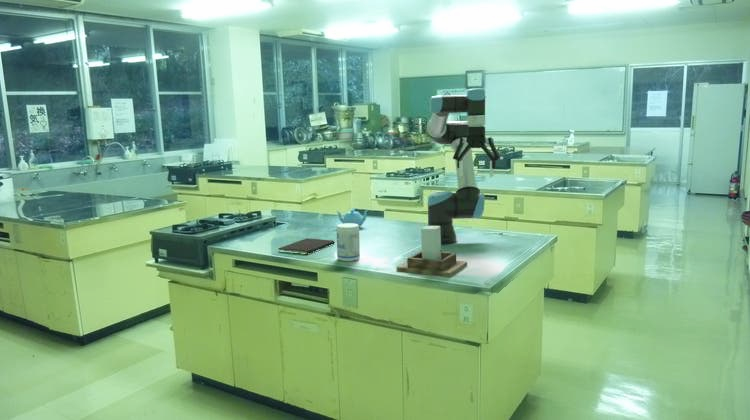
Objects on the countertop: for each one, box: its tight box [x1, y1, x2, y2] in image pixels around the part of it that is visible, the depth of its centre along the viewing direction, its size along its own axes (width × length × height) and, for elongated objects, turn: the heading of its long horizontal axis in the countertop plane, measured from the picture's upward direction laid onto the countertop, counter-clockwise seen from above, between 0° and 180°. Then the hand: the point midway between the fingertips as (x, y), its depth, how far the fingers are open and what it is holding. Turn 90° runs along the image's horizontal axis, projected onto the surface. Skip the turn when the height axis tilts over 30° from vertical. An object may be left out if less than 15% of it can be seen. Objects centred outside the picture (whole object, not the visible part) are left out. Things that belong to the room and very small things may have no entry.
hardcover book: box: [277, 237, 336, 254], centre depth 252 cm, size 16×23×2 cm
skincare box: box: [420, 225, 442, 261], centre depth 210 cm, size 8×6×15 cm
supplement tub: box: [336, 223, 361, 262], centre depth 228 cm, size 10×10×15 cm
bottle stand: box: [396, 250, 468, 278], centre depth 211 cm, size 22×18×5 cm
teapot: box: [335, 207, 369, 228], centre depth 296 cm, size 13×13×10 cm
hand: (476, 176), depth 232 cm, fingers open, 13 cm apart
